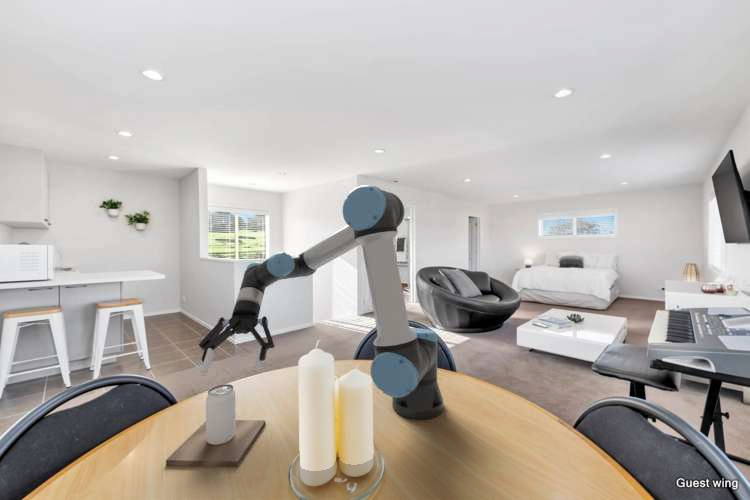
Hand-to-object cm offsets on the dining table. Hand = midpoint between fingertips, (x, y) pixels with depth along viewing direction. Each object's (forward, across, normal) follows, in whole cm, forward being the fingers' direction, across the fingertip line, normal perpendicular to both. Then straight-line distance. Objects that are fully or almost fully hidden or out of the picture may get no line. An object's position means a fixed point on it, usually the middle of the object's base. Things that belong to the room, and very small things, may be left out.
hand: (229, 372), depth 83 cm
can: (+14, 0, -5) cm, 15 cm away
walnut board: (+15, 0, -5) cm, 16 cm away
